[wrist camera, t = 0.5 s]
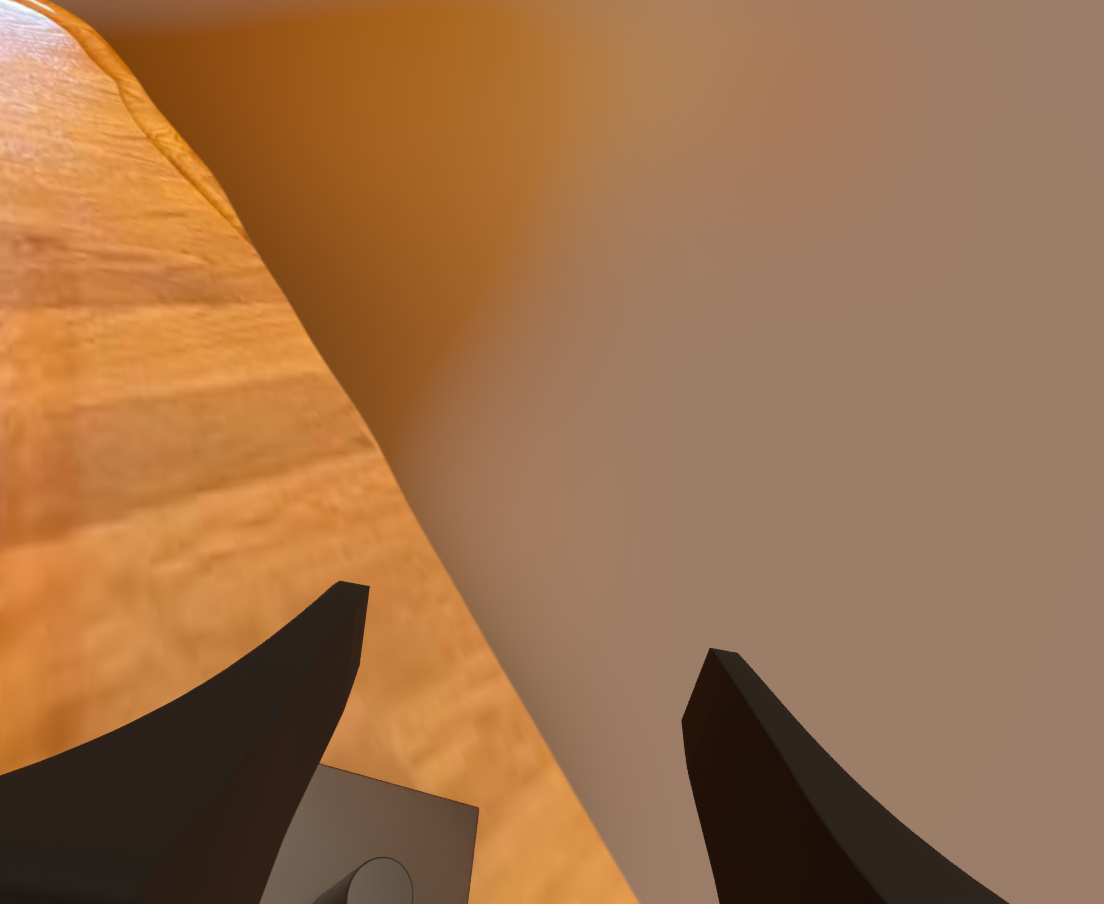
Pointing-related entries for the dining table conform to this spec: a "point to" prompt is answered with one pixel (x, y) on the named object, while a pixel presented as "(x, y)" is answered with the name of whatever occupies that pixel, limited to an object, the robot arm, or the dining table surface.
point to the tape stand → (373, 845)
